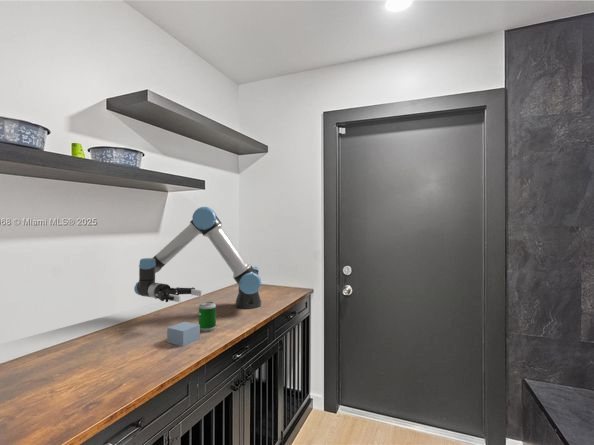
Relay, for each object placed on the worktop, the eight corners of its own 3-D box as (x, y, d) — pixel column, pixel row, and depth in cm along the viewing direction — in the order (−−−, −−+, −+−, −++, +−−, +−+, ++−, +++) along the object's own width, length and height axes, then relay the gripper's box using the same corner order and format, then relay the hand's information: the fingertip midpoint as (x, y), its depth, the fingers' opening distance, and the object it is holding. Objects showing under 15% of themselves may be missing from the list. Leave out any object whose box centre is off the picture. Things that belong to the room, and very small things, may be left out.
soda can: (218, 327, 147) (219, 301, 147) (210, 333, 140) (210, 306, 140) (204, 326, 149) (204, 300, 149) (195, 331, 142) (195, 304, 142)
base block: (184, 335, 137) (184, 321, 137) (199, 338, 133) (199, 324, 133) (167, 342, 129) (167, 327, 129) (183, 346, 125) (183, 331, 125)
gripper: (179, 293, 170) (209, 298, 160) (137, 303, 148) (169, 310, 138) (179, 279, 170) (209, 283, 160) (137, 287, 148) (169, 293, 138)
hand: (191, 296), depth 149 cm, fingers open, 13 cm apart
